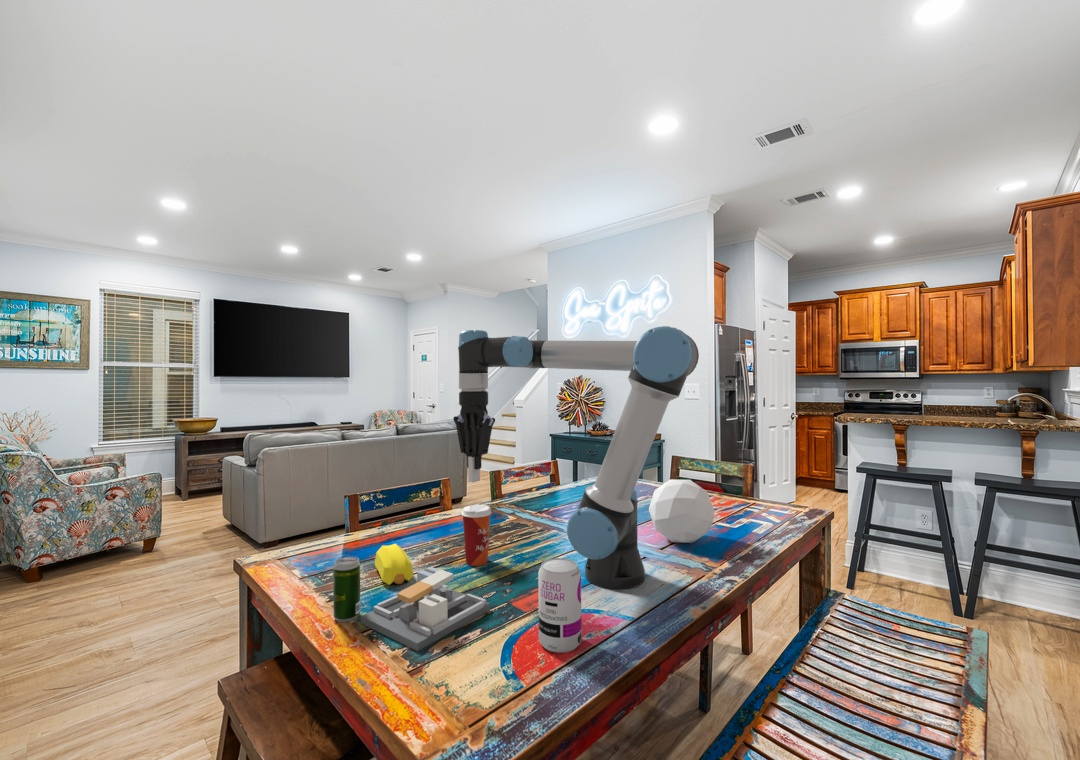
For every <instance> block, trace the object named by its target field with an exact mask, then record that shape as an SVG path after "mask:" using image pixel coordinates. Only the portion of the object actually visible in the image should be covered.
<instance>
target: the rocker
mask: <svg viewBox="0 0 1080 760" xmlns="http://www.w3.org/2000/svg"><path fill="white" fill-rule="evenodd" d="M454 579H455V578H454V573H452V572H449V571H446V570H443V569H439V571H438V572H436V573H434V574H432V575H430V576H428V577H427V578H425V579H423V580H421V581H419V582H417V581H416V583H414V584H412V585H410V586H408V587H406V588H404V589H402V590H401V591H399V592H397V594H396V596H398V599H399V600H402V601H404V602H406V603H409V604H411V603H413V602H415V601H417V600H418V599H420V598H422V597H423V596H425V595H427V594H429V593H431V592H434V591H435V590H436V589H437V588H439V587H441V586H442V585H446V584H448V583H450V582H452V581H453V580H454Z"/></svg>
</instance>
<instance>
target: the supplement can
mask: <svg viewBox="0 0 1080 760" xmlns="http://www.w3.org/2000/svg"><path fill="white" fill-rule="evenodd" d="M537 574H538V580H537V581H538V588H537V589H538V594H537V595H538V642H539V643H540V645H541V646H543V648H544V649H545V650H547V651H549V652H553V653H556V654H557V653H559V654H562V653H563V654H564V653H570V652H572V651H574V650H575V649H576V648H578V646H579V645H581V642H582V573H581V570H580V567H579V565H578V563H577V562H576V561H574V560H572V559H569V558H561V557H560V558H557V557H555V558H550V559H545V560H544V561H542V562H541V566H540V568H539V570H538V573H537Z"/></svg>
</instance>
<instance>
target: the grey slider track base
mask: <svg viewBox="0 0 1080 760" xmlns="http://www.w3.org/2000/svg"><path fill="white" fill-rule="evenodd" d="M433 594H435V595H438V596H441V597H443V598H446V599H447V614H448V619H447V620H445V621H443V622H442V623H440V624H438V625H436V626H434V627H432V628H431V629H430V628H428V627H425V626H423V625H421V624H419V601H420V600H422V599H424V598H427V597H429V596H431V595H433ZM490 604H491V603H490V602H487V599H485V598H482V597H479V596H477V595H474V594H471V593H467V594H465V593H462V592H459V591H457V590H454V589H451V588H449V586H448V585H446V584H444V585H442V587H441V588H439V589H436V591H434V592H431V593H430V594H428V595H425V596H423V597H422V598H420V599H418V600H417V601H415V602H413V603H411V604H409V603H406V602H404V601H402V600H399V599H398V596H397V595H394V596H392V597H390V598H387V599H386V600H383V601H380V602H378V603H377V604H376V605H374V606H373V608H372V611H370V612H367V613H364V614H362V615H360V624H361V625H363V626H365V627H367V628H368V629H369V628H370V629H371V630H373V631H375V632H378V633H380V634H381V635H384V636H386V637H388V638H389V639H392V640H393V641H396V642H398V643H400V644H402V645H404V646H406V647H408V648H410V649H412V650H413V651H416V652H420V651H421V650H422V649H424V648H426V647H428V646H429V645H431V644H433V643H434V642H436V641H439V640H440V639H441V638H443V637H445V636H447V635H449V634H450V633H451V634H452V632H454V631H456V630H457V629H459V628H461V627H462V626H464V625H467V624H468V623H469V622H472V621H474V620H475V619H477V618H478V617H480V616H482V615H483V614H485V613H487V612H490V610H491V609H490V608H491V607H490V606H491V605H490Z"/></svg>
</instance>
